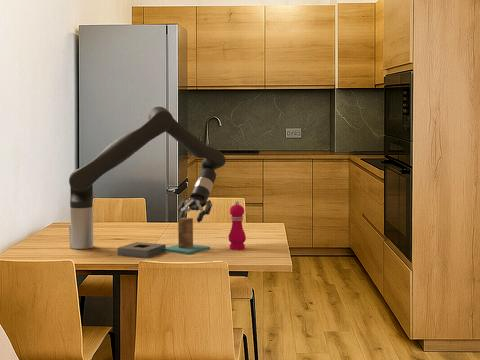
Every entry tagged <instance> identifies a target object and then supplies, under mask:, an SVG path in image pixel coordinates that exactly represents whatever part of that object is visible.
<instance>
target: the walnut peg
mask: <svg viewBox="0 0 480 360" xmlns="http://www.w3.org/2000/svg"><path fill="white" fill-rule="evenodd" d="M177 222H178V223H177V226H178V227H177V228H178V229H177V231H178V235H177V236H178V240H177V241H178V245H179V248H185V249H189V248H192V247H193V245H194V219H193V218H191V217H184V218H181V219H179V218H178V219H177Z"/></svg>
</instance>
